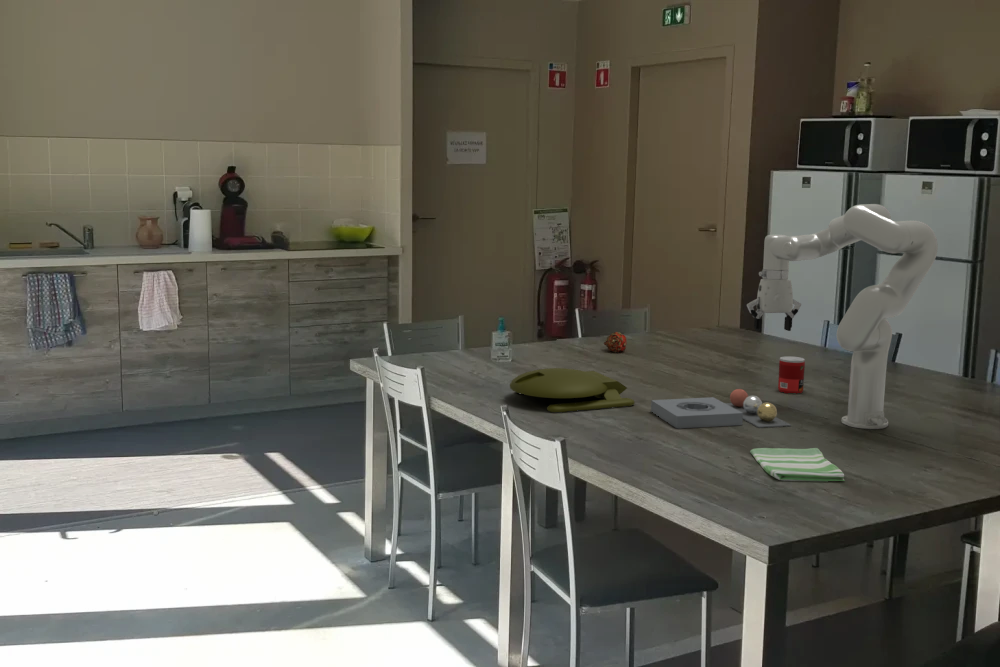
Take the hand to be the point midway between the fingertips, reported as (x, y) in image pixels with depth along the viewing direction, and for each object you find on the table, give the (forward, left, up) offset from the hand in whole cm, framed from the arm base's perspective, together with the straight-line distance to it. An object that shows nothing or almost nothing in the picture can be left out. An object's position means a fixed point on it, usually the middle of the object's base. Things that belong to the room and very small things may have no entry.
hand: (772, 330), depth 313 cm
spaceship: (+17, +61, -24) cm, 68 cm away
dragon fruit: (+93, +18, -23) cm, 97 cm away
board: (-13, +30, -23) cm, 40 cm away
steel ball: (-13, +12, -20) cm, 27 cm away
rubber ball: (-4, +12, -20) cm, 24 cm away
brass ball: (-22, +12, -20) cm, 32 cm away
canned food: (+14, -15, -23) cm, 30 cm away
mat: (-13, +12, -23) cm, 29 cm away
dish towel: (-63, +25, -24) cm, 72 cm away
